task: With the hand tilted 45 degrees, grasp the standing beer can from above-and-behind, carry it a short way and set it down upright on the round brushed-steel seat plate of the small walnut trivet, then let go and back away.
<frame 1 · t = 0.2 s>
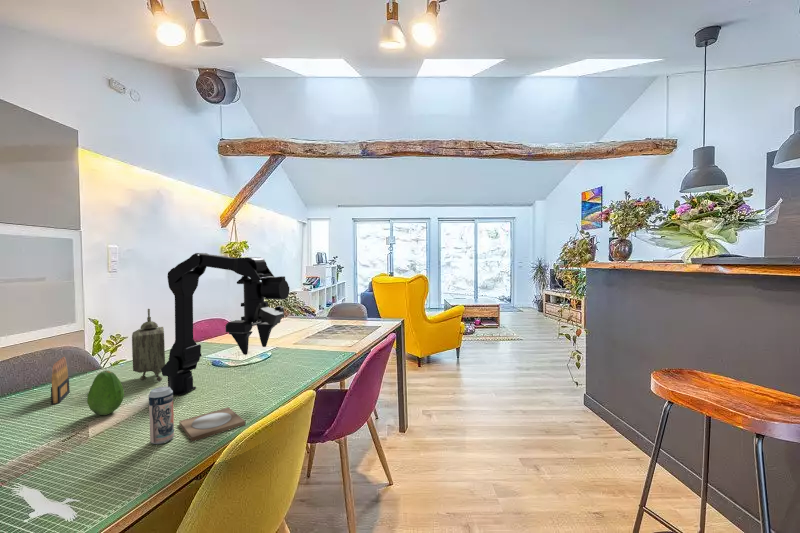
hand: (255, 350, 111), 14 cm above the table, tool pointing down, fingers open, 9 cm apart
trivet: (212, 424, 93), on the table
avocado: (107, 414, 101), on the table
ammunition clip: (60, 399, 113), on the table
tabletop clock: (149, 379, 130), on the table
beer can: (162, 441, 86), on the table
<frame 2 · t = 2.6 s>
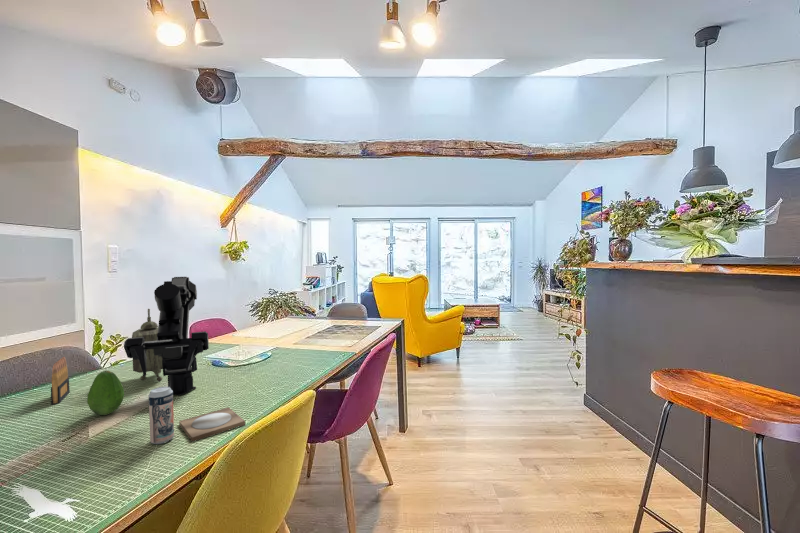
hand: (166, 372, 93), 13 cm above the table, tool tilted 45°, fingers open, 9 cm apart
nothing on the table moved.
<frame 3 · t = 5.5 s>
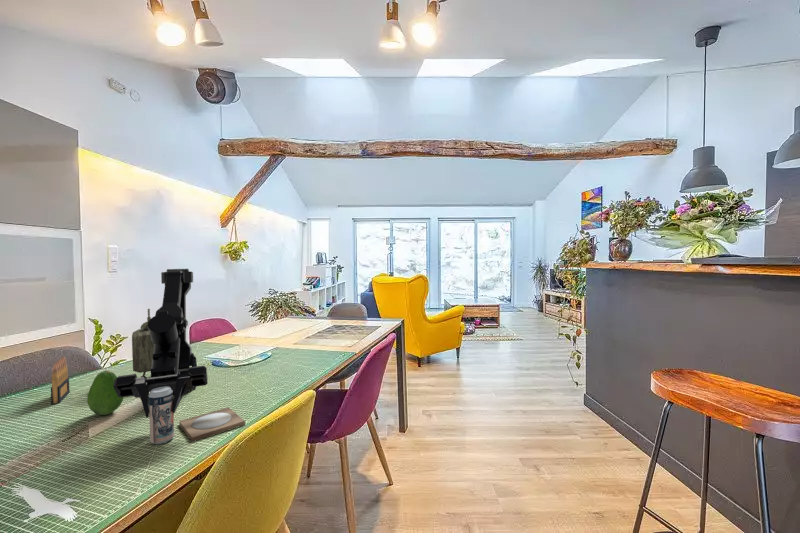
hand: (160, 414, 84), 7 cm above the table, tool tilted 45°, fingers closed on beer can, 5 cm apart
beer can: (162, 441, 85), on the table, touching gripper
everything else where it was.
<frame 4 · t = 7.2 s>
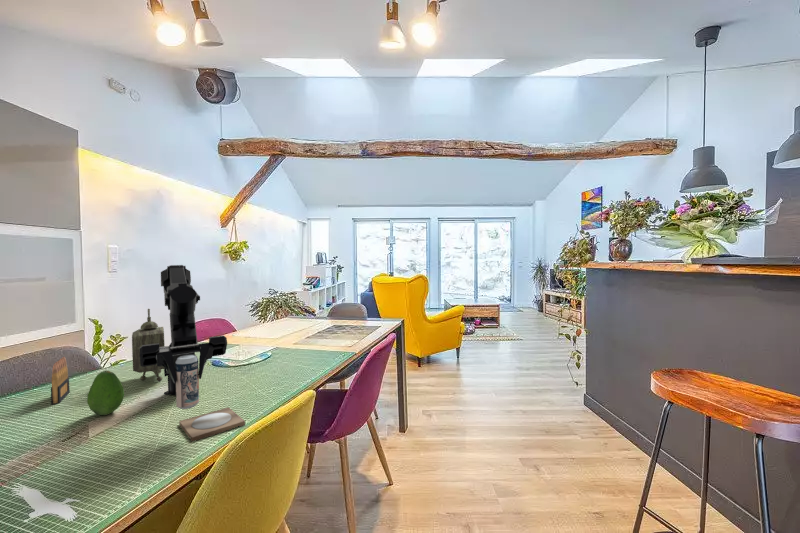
hand: (188, 380, 88), 13 cm above the table, tool tilted 45°, fingers closed on beer can, 5 cm apart
beer can: (187, 406, 89), point 6 cm above the table, touching gripper
everything else where it was.
when the fingers open (9 cm above the table, at t = 8.9 s): beer can drops 1 cm, resting on trivet.
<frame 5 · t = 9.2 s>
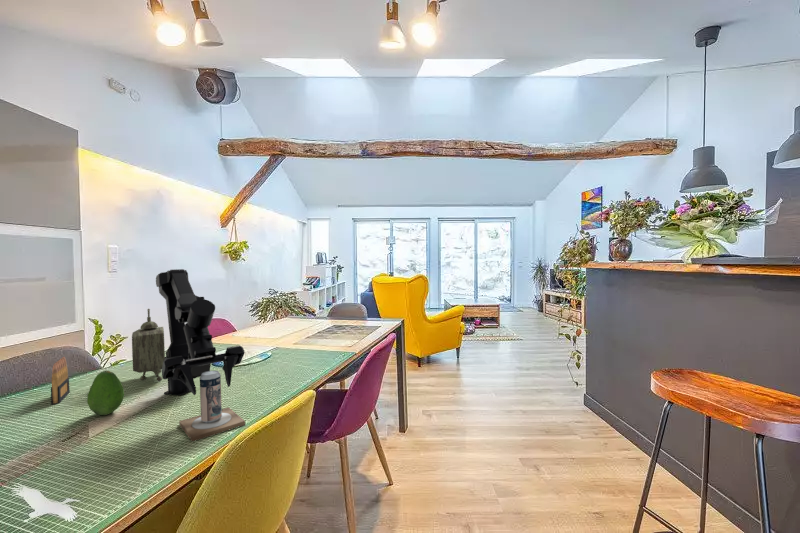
hand: (212, 389, 92), 9 cm above the table, tool tilted 45°, fingers open, 8 cm apart
beer can: (211, 420, 93), point 1 cm above the table, touching trivet
everything else where it was.
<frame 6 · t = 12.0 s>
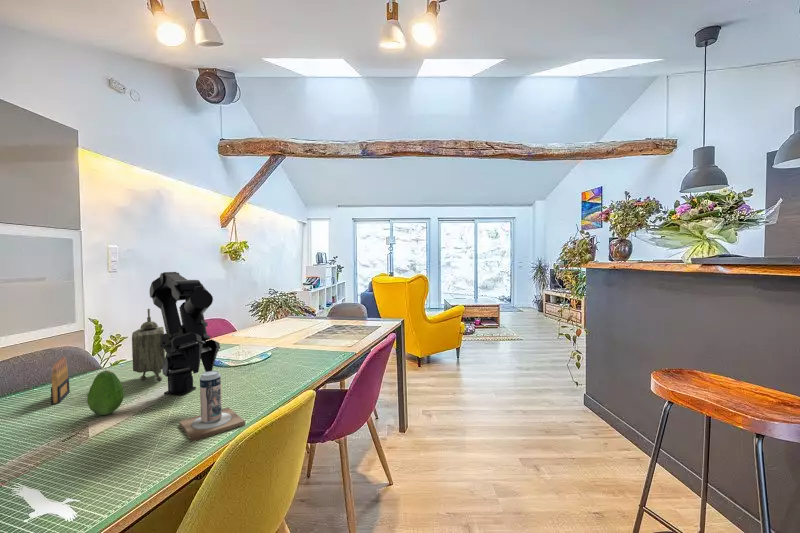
hand: (202, 373, 102), 10 cm above the table, tool tilted 25°, fingers open, 9 cm apart
nothing on the table moved.
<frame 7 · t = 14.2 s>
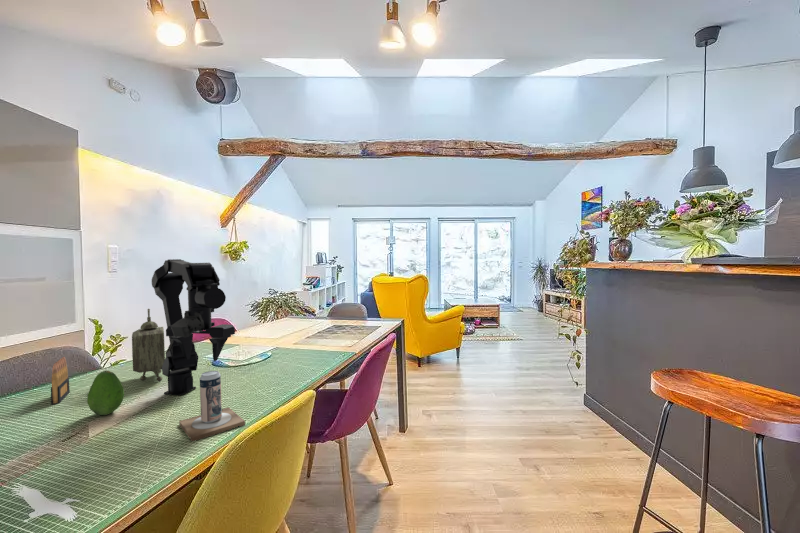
hand: (201, 360, 106), 13 cm above the table, tool pointing down, fingers open, 9 cm apart
nothing on the table moved.
at the end: beer can inside the target area on the trivet (0.2 cm from its centre), point 1.0 cm above the trivet's base; beer can tilted 0°; the gripper is holding nothing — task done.
